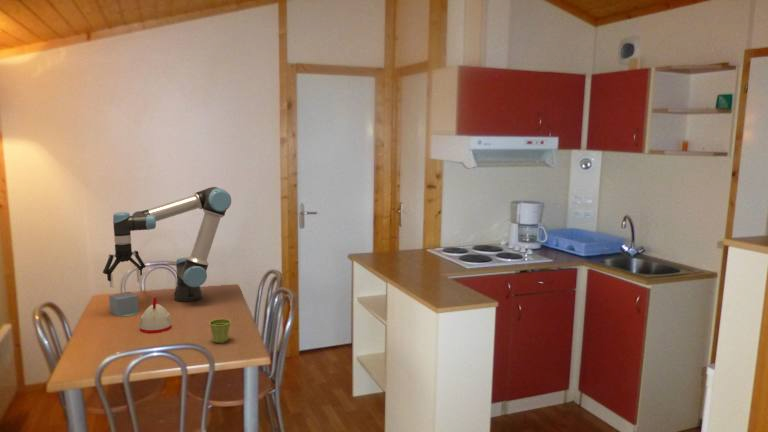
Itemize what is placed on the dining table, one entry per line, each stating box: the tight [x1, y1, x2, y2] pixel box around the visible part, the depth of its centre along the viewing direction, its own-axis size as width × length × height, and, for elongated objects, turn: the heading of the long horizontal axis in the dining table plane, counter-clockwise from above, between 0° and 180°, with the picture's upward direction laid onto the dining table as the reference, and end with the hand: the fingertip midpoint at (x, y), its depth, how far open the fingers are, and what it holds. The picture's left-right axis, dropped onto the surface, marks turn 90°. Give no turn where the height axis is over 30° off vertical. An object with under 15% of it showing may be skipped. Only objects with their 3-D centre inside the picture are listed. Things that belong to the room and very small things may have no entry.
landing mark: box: [112, 311, 140, 318], centre depth 291 cm, size 12×12×1 cm
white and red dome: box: [139, 297, 172, 334], centre depth 268 cm, size 14×14×15 cm
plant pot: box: [208, 318, 232, 344], centre depth 254 cm, size 9×9×9 cm
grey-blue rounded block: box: [108, 291, 140, 318], centre depth 292 cm, size 10×10×9 cm
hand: (125, 284), depth 289 cm, fingers open, 13 cm apart
